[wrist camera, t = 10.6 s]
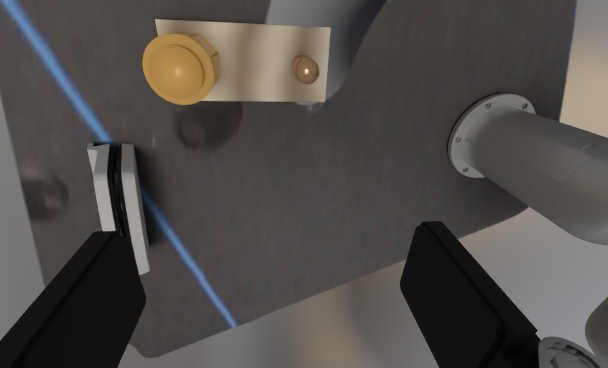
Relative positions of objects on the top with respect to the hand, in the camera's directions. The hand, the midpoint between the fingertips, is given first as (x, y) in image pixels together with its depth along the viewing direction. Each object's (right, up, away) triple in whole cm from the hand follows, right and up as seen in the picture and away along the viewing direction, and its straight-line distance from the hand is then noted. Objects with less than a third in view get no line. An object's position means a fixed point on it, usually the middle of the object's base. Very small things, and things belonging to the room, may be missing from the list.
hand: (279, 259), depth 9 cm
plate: (-6, +16, +23) cm, 29 cm away
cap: (-11, +16, +21) cm, 29 cm away
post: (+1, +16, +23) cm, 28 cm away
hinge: (-23, 0, +30) cm, 37 cm away
